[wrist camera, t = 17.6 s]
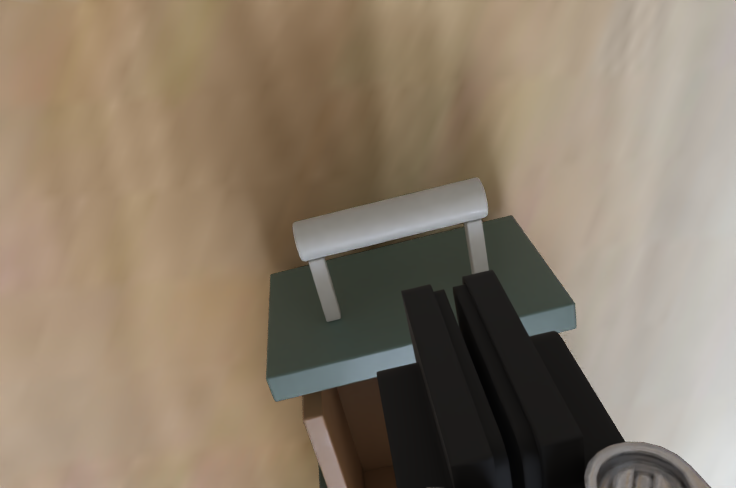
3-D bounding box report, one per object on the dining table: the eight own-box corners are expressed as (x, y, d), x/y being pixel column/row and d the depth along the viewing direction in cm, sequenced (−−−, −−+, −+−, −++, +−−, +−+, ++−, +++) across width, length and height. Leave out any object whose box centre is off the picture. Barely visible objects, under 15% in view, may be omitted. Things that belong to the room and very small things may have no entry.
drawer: (240, 189, 27) (226, 278, 21) (501, 124, 27) (569, 194, 21) (338, 472, 36) (349, 597, 29) (536, 424, 36) (590, 538, 29)
